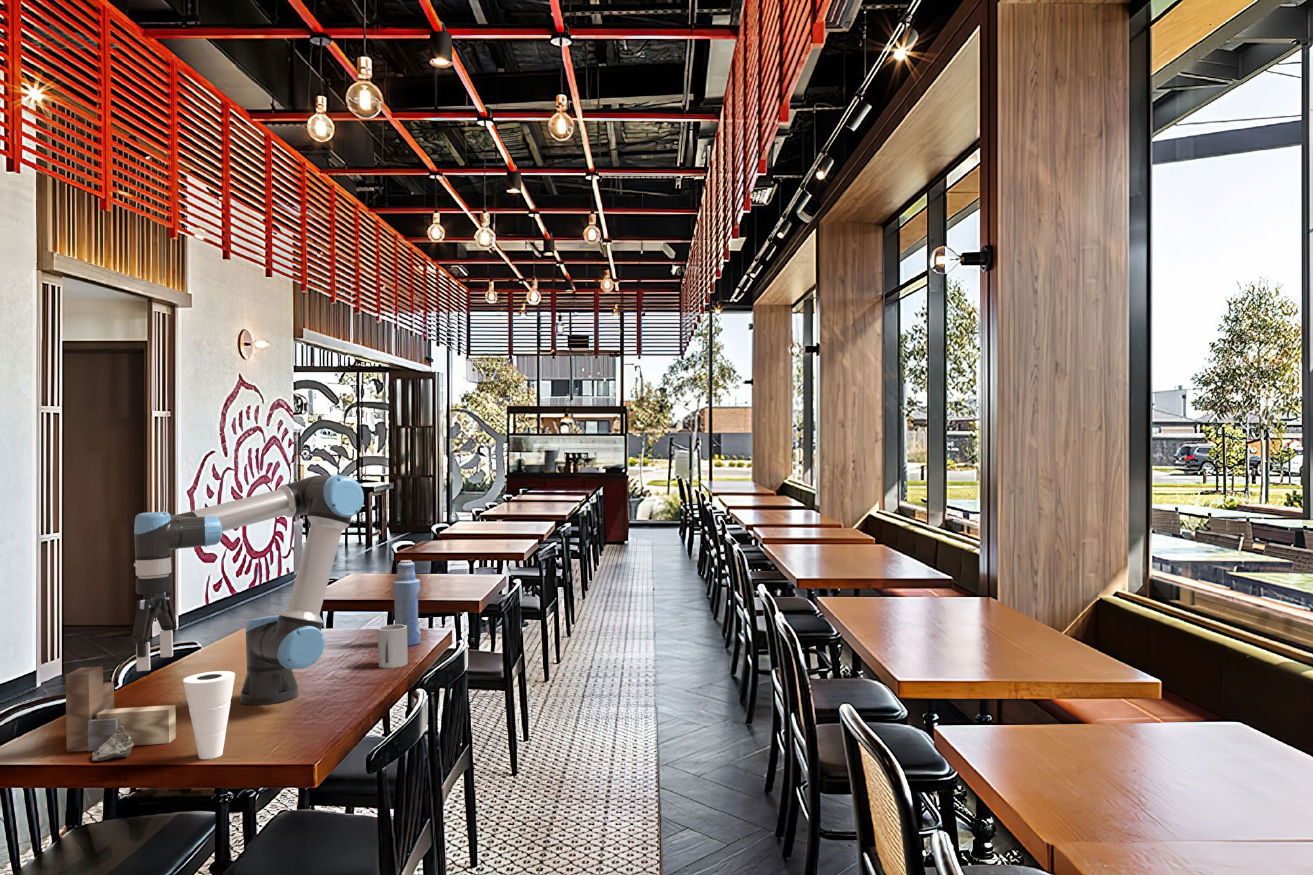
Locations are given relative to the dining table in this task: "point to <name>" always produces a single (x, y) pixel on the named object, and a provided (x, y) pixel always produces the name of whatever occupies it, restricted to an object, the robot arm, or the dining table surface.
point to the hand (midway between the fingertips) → (155, 663)
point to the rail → (145, 723)
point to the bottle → (407, 600)
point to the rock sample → (114, 746)
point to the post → (88, 709)
